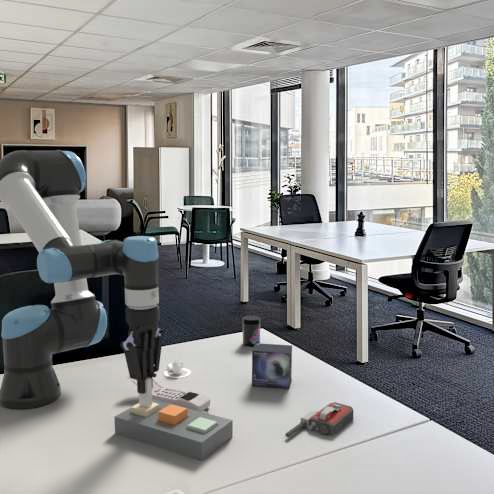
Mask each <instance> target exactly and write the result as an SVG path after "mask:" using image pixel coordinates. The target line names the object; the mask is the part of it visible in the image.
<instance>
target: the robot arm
mask: <svg viewBox="0 0 494 494" xmlns="http://www.w3.org/2000/svg"><path fill="white" fill-rule="evenodd" d="M86 174H87V173H86V171H85V167H84V165H83V162H82V160H81V158H80V156H77V154H76V153H75V152H73V151H71V150H70V151H69V150H60V149H55V150H53V149H52V150H49V149H46V150H26V149H25V150H22V149H21V150H14V151H11V152H9V153H7V154H6V155H4V156H3V157H1V158H0V202H1V203H2V204H5V205H8V208H9V209H10V210H11V212H12V214H14V216H15V218H16V220H17V221H18V222H19V224H20V227H22V228H23V230H24V231H25V233H26V235H27V236H28V238H29V239H30V241H31V243H32V244H33V246H34V247H35V248H36V250H37V251H38V255H37V258H36V267H37V271H38V274H39V277H40V279H41V280H42V281H43V282H44V283H47V284H53V285H54V287H53V288H54V292H55V296H54V297H53V298H52V300H51V301H50V305H51V308H49V306H47V305H44V304H34V305H26V306H22V307H19V308H16V309H14V310H11V311H9V312H7V313H6V314H5V315H4V317H3V318H2V320H1V332H0V333H1V335H0V336H1V339H2V353H3V366H4V367H3V368H4V374H3V377H2V380H1V383H0V384H1V385H0V405H1V406H2V407H4V408H8V409H12V410H13V409H14V410H15V409H16V410H17V409H18V410H27V409H32V408H33V409H34V408H38V407H42V406H45V405H48V404H51V403H53V402H54V401H56V400H57V399H59V397H60V396H61V394H62V393H61V391H62V390H61V383H60V381H59V379H58V376H57V374H56V372H55V369H54V367H53V355H54V354H57V353H58V354H59V353H62V352H68V351H71V350H75V349H80V348H87V347H89V346H92V345H95V344H98V343H100V342H101V341H102V340H103V337H104V336H105V334H106V332H107V331H106V330H107V327H108V318H107V317H108V316H107V311H106V309H105V308H104V305H103V302H101V301H99V300H96V296H95V293H92V292H91V291H90V290H89V286H88V281H87V279H91V278H99V277H105V276H111V275H120V276H124V278H123V279H124V304H125V305H126V307H125V321H126V324H128V328H129V329H128V332H127V335H128V337H127V338H126V340H125V341H124V340H121V342H120V347H121V348H122V350H123V352H124V356H125V357H124V358H125V361H126V366H127V369H128V370H127V371H128V374H129V375H130V378H131V379H135V380H137V385H136V387H137V388H136V391H137V393H138V403H139V405H142V406H145V407H149V406H151V405H152V388H153V383H152V382H153V380H154V378H156V377H157V374H158V373H157V372H158V371H159V370H160V362H161V354H162V346H163V339H164V336H165V333H166V330H165V329H164V328H163V329H162V328H159V326H158V323H159V322H160V320H161V319H160V318H161V317H160V316H161V315H160V314H161V313H160V306H159V303H160V292H159V291H160V290H159V286H160V285H159V277H160V276H159V256H160V255H159V250H158V241H157V239H156V238H155V237H154V236H149V235H136V236H135V235H133V236H128V237H126V238H124V239H123V241H121V240H118V239H113V240H112V239H107V240H103V241H101V242H100V243H92V244H84V245H82V240H81V233H80V227H79V219H78V213H77V212H78V211H77V207H76V204H77V202H78V201H79V200H80V198H81V192H83V191H84V190H85V187H86V186H87V185H86V181H87V176H86ZM129 375H128V376H129Z"/></svg>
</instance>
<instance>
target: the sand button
mask: <svg viewBox="0 0 494 494" xmlns="http://www.w3.org/2000/svg"><path fill="white" fill-rule="evenodd" d="M130 408H131V413H133V414H137V415H140V416H144V417H148V416H150V415H152V414H154V413H155V412H157V411H159V410H160V408H159V404H157V403H153V402H152V405H151V406H149V407H145V406H142V405H139V402H138V403H135V404H134V405H132V406H131V407H130Z"/></svg>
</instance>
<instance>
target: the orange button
mask: <svg viewBox="0 0 494 494" xmlns="http://www.w3.org/2000/svg"><path fill="white" fill-rule="evenodd" d="M158 418H159V421H161V422H165V423H168V424H172V425H177V424H179V423H180V422H182V421H183V420H185V419H186V418H187V408H184V407H180V406H176V405H172V404H170V405H169V406H167V407H165V408H164V409H162V410H160V411H158Z"/></svg>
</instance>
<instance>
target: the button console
mask: <svg viewBox="0 0 494 494" xmlns="http://www.w3.org/2000/svg"><path fill="white" fill-rule="evenodd" d="M152 402H153V403H157V404H159V408H160V410H162V409H164V408H165V407H167V406H169V405H170V403H166V402H162V401H158V400H154V399H152ZM172 405H173V404H172ZM176 406H177V405H176ZM180 407H181V406H180ZM184 408H185V407H184ZM160 410H159V411H160ZM199 417H202V418H205V419H209V420H213V421H216V422H217V426H216V427H215V428H214V429H212V430H211V431H209V432H208V433H207V434H203V433H200V432H196V431H193V430H189V429H188V425H189V424H190V423H192V422H193V421H195V420H196V419H198V418H199ZM233 427H234V426H233V419H229V418H227V417H226V418H225V417H222V416H218V415H215V414H211V413H209V414H207V413H204V412H200V411H196V410H192V409H188V408H187V418H186V419H185V420H183V421H182V422H180V423H179V424H177V425H172V424H168V423H165V422H161V421H159V418H158V411H157V412H155V413H154V414H152V415H150V416H148V417H144V416H140V415H137V414H133V413H131V407H129V408H128V409H125V410H124V411H122V412H121V413H119V414H118V413H117V414H116V415H115V416H114V434H116V435H120V436H123V437H125V438H128V439H132V440H136V441H139V442H142V443H145V444H148V445H151V446H154V447H157V448H161V449H164V450H166V451H171V452H174V453H175V454H176V453H177V454H180V455H183V456H186V457H190V458H193V459H196V460H200V461H204V460H205V459H206V458H208V457H209V456H210V455H211V454H213V453H214V452H215V451H217V450H218V449H219V448H220V447H222V446H223V445H224V444H226V443H227V442H228V441H229V440H230V439H232V438H233V437H234V436H233V434H234V433H233Z"/></svg>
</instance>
